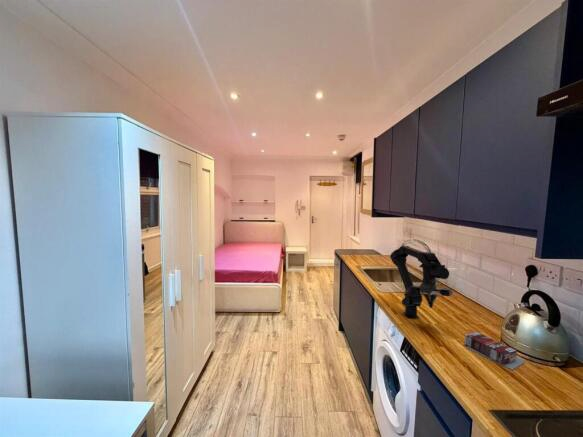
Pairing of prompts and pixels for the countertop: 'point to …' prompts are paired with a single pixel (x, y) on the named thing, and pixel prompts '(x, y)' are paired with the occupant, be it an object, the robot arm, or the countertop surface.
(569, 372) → the countertop surface
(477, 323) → the countertop surface
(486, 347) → the supplement box
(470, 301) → the countertop surface
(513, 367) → the mat
